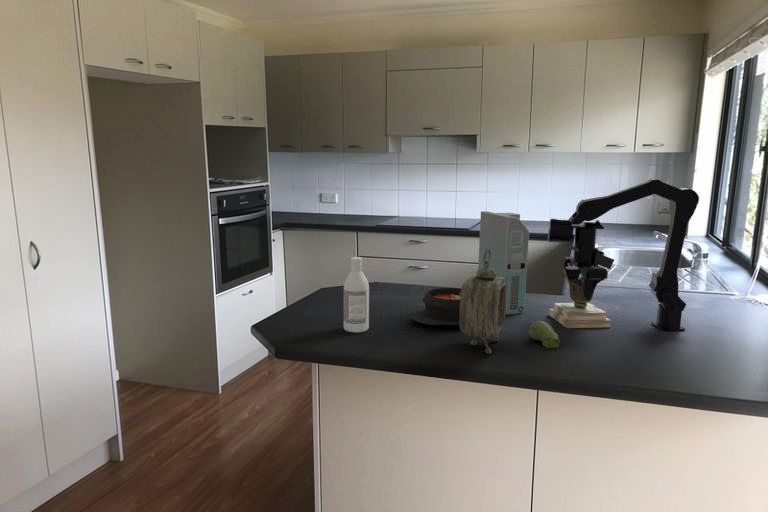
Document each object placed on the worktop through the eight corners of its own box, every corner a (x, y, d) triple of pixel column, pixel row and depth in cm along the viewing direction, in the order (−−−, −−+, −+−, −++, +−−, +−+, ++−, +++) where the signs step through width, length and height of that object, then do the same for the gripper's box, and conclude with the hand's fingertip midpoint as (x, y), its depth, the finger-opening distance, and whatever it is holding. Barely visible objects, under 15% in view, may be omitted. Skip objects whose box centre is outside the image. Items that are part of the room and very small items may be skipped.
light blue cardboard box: (524, 313, 176) (530, 216, 170) (502, 315, 173) (507, 216, 168) (496, 300, 191) (501, 210, 185) (476, 301, 188) (480, 211, 183)
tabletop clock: (493, 358, 137) (499, 255, 132) (457, 352, 140) (460, 252, 136) (504, 340, 150) (509, 246, 146) (470, 335, 153) (474, 243, 149)
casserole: (466, 308, 180) (467, 282, 179) (505, 324, 164) (506, 296, 162) (397, 318, 169) (398, 290, 167) (431, 336, 152) (432, 306, 151)
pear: (545, 316, 152) (567, 333, 144) (541, 334, 154) (563, 352, 145) (527, 318, 151) (548, 335, 142) (523, 336, 152) (544, 354, 144)
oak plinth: (610, 327, 163) (611, 312, 162) (566, 327, 161) (567, 313, 160) (589, 314, 175) (590, 301, 175) (548, 314, 174) (549, 301, 173)
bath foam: (350, 324, 162) (351, 254, 158) (372, 327, 159) (373, 257, 155) (339, 330, 156) (339, 258, 152) (361, 334, 153) (362, 261, 149)
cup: (564, 308, 166) (566, 281, 164) (569, 302, 172) (571, 276, 171) (591, 312, 162) (593, 284, 161) (595, 306, 169) (597, 279, 167)
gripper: (628, 249, 156) (623, 304, 159) (596, 238, 174) (592, 288, 177) (589, 249, 155) (584, 304, 157) (561, 238, 173) (557, 288, 176)
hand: (580, 296), depth 167 cm, fingers open, 9 cm apart
